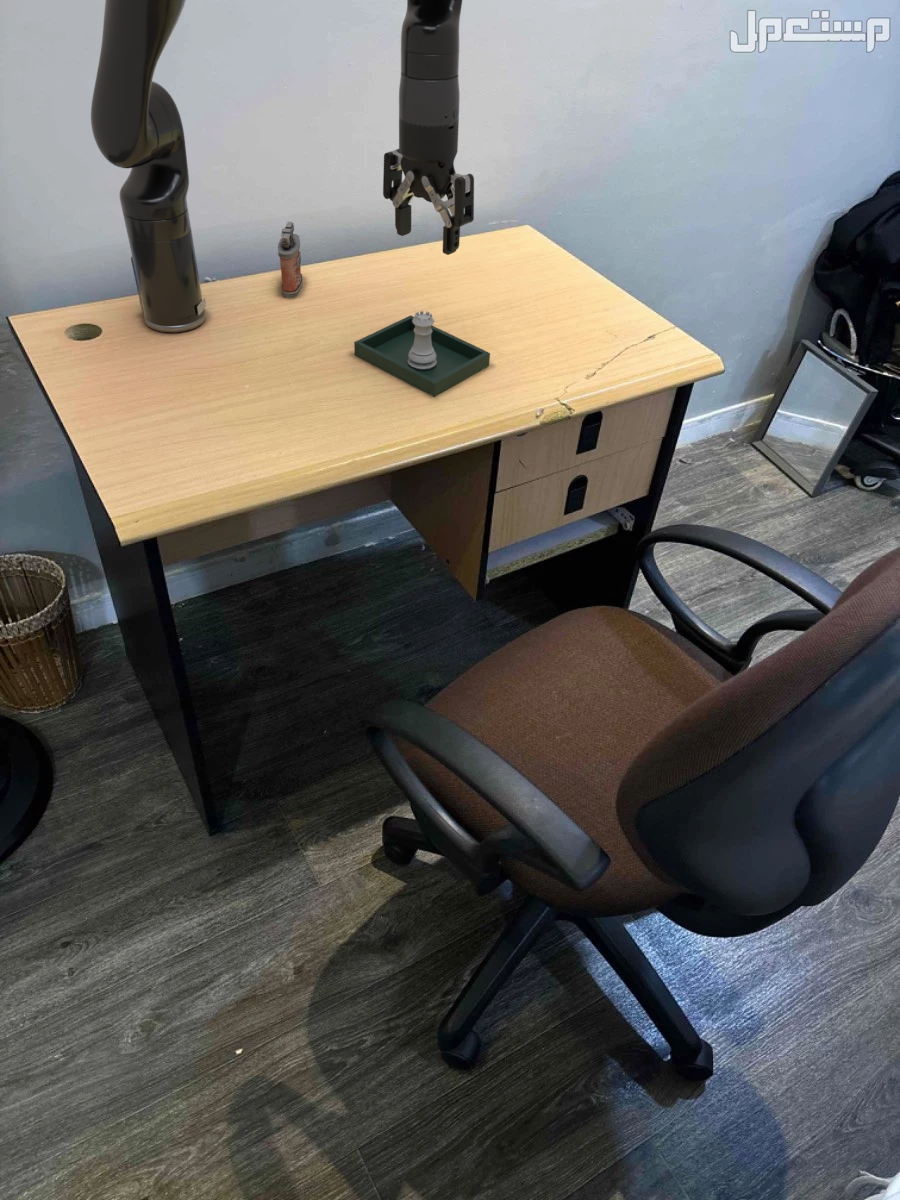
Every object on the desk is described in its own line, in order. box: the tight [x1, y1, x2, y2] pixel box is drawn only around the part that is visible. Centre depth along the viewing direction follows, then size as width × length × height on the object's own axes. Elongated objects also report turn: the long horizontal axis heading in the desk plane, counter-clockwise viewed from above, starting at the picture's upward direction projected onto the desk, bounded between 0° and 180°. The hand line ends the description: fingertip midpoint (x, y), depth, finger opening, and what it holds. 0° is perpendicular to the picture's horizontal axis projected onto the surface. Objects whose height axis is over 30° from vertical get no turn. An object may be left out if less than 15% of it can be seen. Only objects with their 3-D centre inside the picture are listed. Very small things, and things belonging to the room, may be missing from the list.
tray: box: [353, 315, 491, 398], centre depth 134 cm, size 17×13×2 cm
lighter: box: [277, 221, 304, 299], centre depth 146 cm, size 8×3×10 cm, turn 179°
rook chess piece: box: [408, 310, 437, 371], centre depth 130 cm, size 4×4×8 cm
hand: (426, 243), depth 120 cm, fingers open, 8 cm apart
